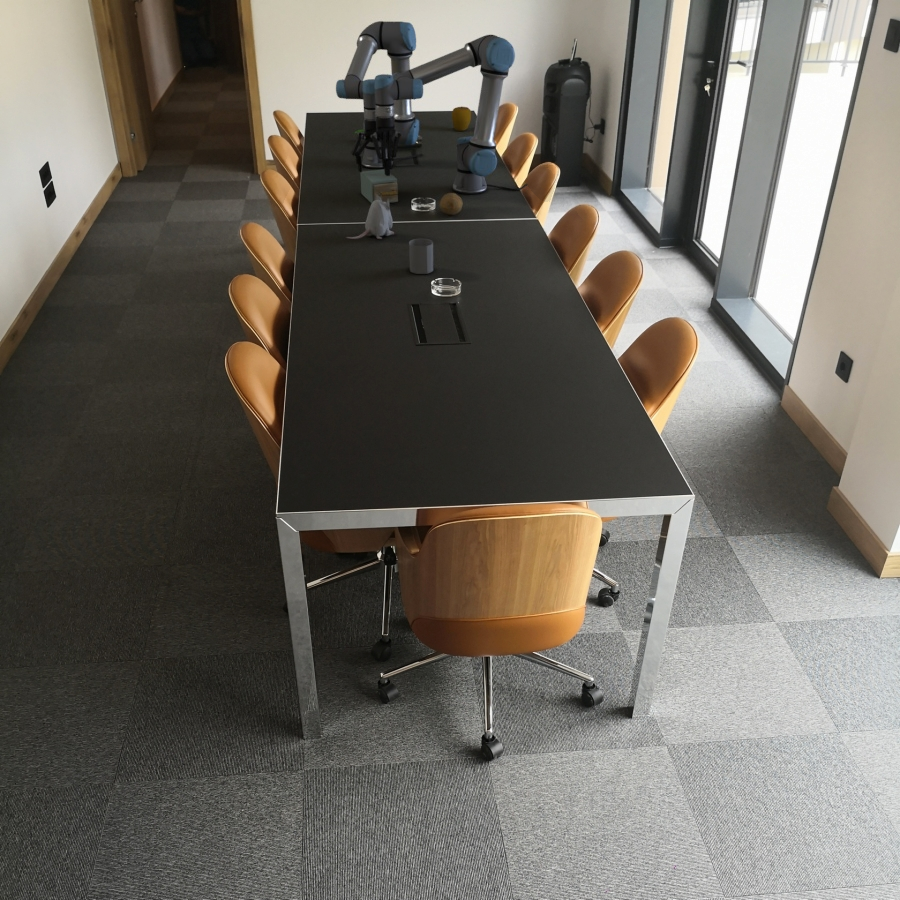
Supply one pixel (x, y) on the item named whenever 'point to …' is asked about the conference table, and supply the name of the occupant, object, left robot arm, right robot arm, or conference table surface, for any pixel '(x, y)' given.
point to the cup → (421, 256)
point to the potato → (451, 204)
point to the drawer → (386, 191)
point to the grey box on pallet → (373, 182)
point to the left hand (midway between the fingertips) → (375, 170)
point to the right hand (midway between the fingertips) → (387, 174)
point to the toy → (378, 220)
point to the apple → (461, 118)
